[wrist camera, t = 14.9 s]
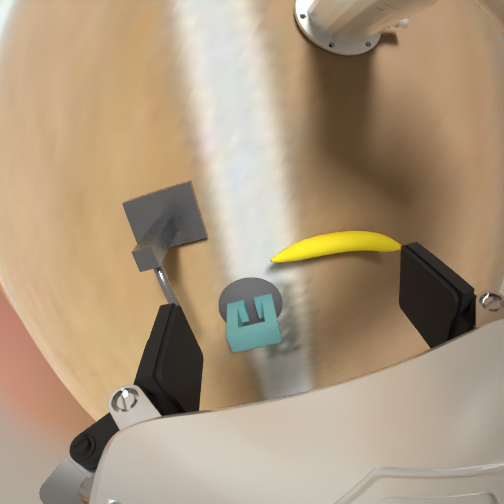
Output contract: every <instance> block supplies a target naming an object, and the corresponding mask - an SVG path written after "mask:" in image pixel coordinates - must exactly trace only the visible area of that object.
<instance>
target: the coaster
mask: <svg viewBox="0 0 504 504" xmlns="http://www.w3.org/2000/svg"><path fill="white" fill-rule="evenodd" d="M267 294H271V295H272V299H273V303H274V306H275V311H276V315H277V318H278V316H279V315H280V313H281V310H282V298H281V295H280V293H279V291H278V289H277V288H276V287H275V286H274V285H273V284H271V283H270V282H268V281H266V280H263V279H259V278H244V279H240V280H237V281H235V282H233V283H231V284H230V285H229V286H227V287H226V288H225V290H224V291H223V292H222V294H221V296H220V299H219V311H220V314H221V316H222V318H223V319H224V320H225V322H226V323H227V304H229V303H233V302H237V301H242V300H244V302H245V305H246V308H247V311H248V314H249V321H247V322H242V323H243V326H248V325H252V324H256V323H261V322H265V318H260V319H259V316H258V313H257V309H256V306H255V301H254V297H259V296H263V295H267Z"/></svg>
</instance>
